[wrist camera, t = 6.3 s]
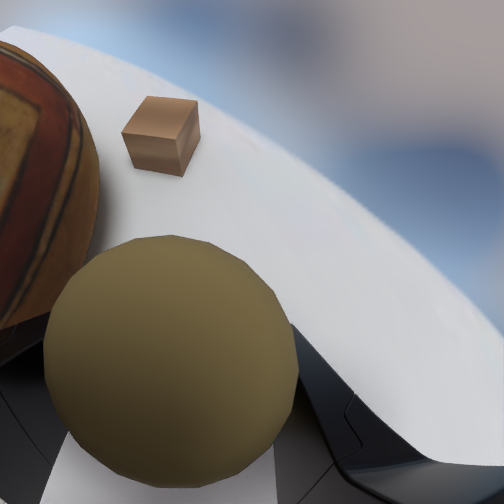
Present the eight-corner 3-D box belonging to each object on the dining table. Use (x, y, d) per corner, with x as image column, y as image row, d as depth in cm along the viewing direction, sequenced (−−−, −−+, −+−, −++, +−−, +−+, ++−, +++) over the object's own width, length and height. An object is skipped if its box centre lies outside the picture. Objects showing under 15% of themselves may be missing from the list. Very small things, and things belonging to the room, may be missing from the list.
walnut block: (182, 177, 20) (175, 139, 17) (134, 168, 20) (121, 132, 17) (200, 139, 22) (197, 100, 18) (155, 132, 22) (146, 96, 18)
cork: (151, 306, 15) (38, 186, 5) (264, 313, 15) (335, 195, 5) (144, 417, 13) (2, 475, 2) (262, 427, 13) (336, 532, 3)
